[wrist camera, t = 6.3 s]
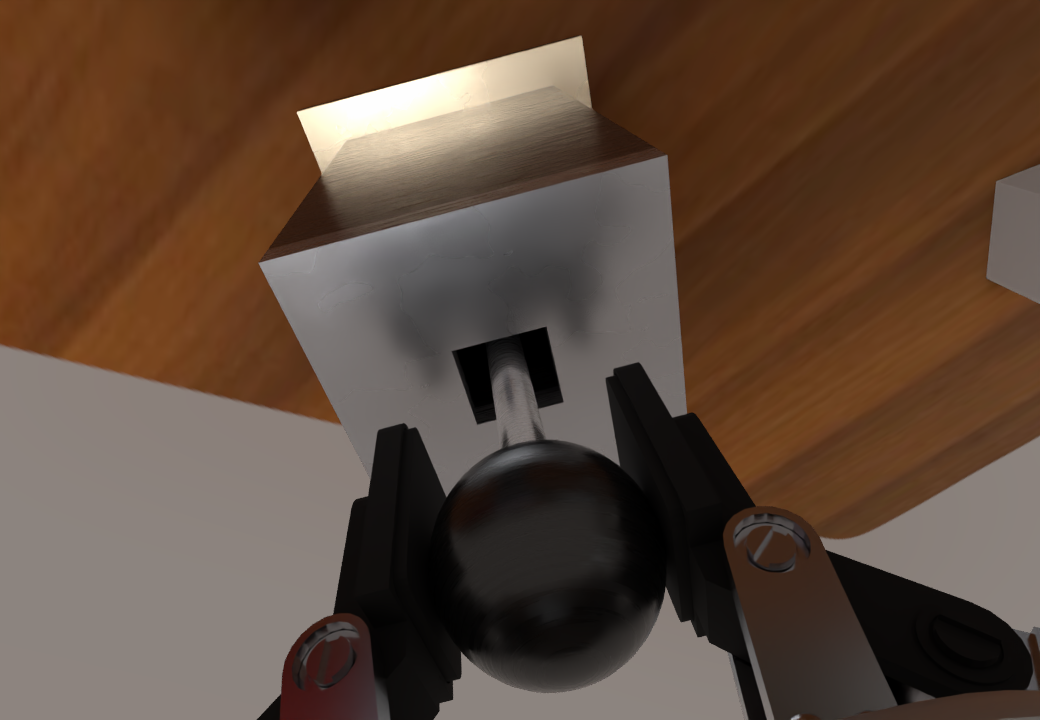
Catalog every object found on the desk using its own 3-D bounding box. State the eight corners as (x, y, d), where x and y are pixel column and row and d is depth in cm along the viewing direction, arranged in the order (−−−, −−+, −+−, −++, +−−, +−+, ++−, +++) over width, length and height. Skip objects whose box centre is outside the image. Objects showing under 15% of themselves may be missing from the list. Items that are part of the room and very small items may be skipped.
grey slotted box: (578, 35, 23) (735, 58, 11) (618, 313, 30) (739, 512, 18) (299, 109, 23) (150, 214, 11) (405, 368, 30) (384, 603, 18)
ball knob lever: (547, 147, 20) (802, 451, 6) (576, 301, 24) (782, 723, 10) (377, 192, 20) (241, 595, 6) (430, 339, 24) (422, 813, 10)
